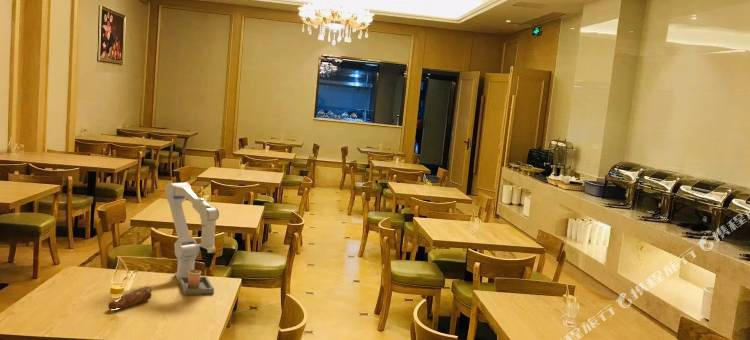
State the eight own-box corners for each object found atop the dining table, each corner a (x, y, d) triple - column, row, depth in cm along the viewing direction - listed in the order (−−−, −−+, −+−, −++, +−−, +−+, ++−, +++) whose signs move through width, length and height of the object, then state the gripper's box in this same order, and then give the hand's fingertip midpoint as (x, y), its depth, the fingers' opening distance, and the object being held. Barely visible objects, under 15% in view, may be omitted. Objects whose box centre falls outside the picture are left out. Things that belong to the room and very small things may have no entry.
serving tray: (178, 282, 283) (179, 277, 282) (206, 281, 288) (206, 276, 287) (184, 295, 266) (185, 289, 266) (213, 294, 271) (214, 288, 271)
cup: (186, 285, 278) (187, 269, 277) (198, 285, 280) (200, 269, 279) (188, 289, 273) (189, 273, 272) (201, 288, 275) (202, 272, 275)
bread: (152, 301, 257) (153, 287, 256) (115, 313, 240) (115, 299, 239) (140, 297, 260) (141, 284, 259) (103, 310, 242) (103, 296, 242)
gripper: (196, 231, 285) (194, 260, 286) (201, 238, 272) (199, 269, 273) (212, 230, 288) (210, 260, 289) (218, 238, 275) (216, 269, 276)
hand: (206, 264), depth 281 cm, fingers open, 7 cm apart
